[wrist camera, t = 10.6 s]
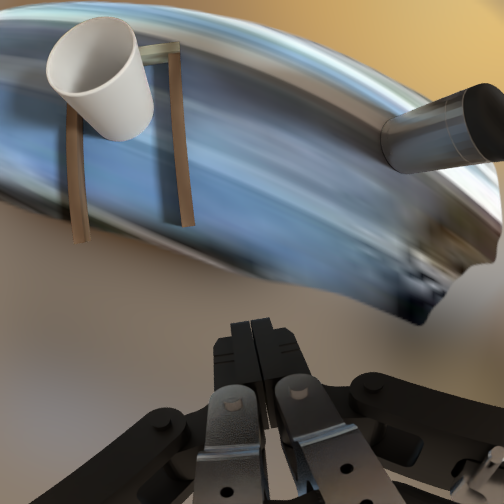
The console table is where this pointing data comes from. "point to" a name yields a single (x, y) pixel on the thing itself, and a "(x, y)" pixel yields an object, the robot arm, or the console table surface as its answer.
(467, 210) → the console table surface
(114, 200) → the console table surface
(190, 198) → the bay
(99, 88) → the cup
